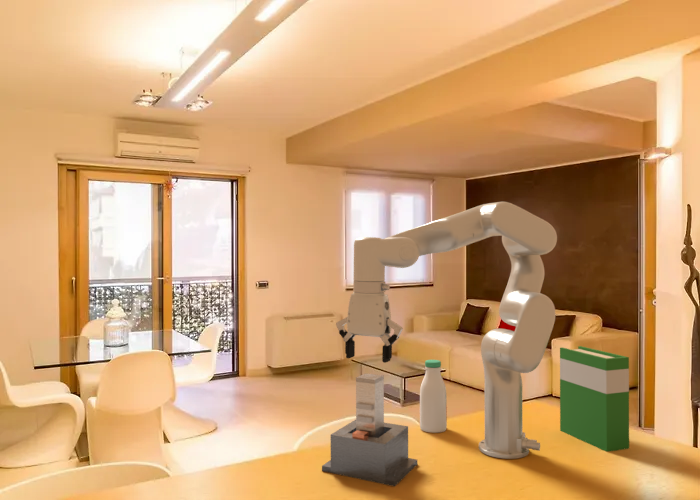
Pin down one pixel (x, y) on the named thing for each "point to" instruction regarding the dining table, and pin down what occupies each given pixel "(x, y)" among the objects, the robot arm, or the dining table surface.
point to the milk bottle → (433, 399)
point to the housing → (371, 454)
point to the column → (370, 404)
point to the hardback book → (595, 397)
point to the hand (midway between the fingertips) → (368, 359)
